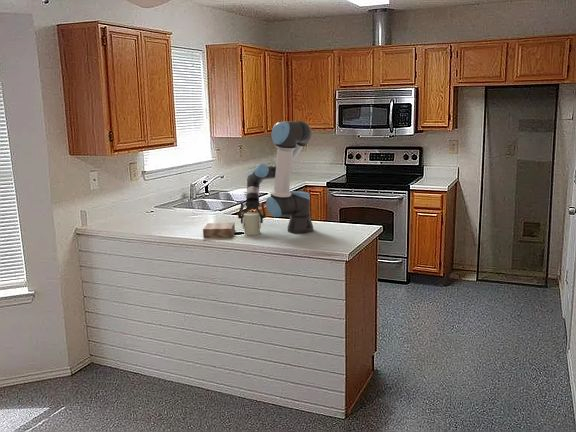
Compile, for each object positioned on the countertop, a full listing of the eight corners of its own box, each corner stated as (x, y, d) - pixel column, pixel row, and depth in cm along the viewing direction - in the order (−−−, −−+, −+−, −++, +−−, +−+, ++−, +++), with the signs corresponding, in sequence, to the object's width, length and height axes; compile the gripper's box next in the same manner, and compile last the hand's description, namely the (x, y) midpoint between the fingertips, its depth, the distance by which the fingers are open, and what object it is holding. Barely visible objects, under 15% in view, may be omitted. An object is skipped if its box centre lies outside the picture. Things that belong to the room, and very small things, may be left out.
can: (251, 230, 333) (251, 210, 330) (263, 232, 327) (262, 212, 325) (241, 233, 326) (240, 213, 323) (252, 235, 320) (251, 215, 318)
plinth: (234, 230, 334) (234, 222, 333) (231, 237, 318) (231, 228, 317) (208, 231, 334) (207, 223, 333) (203, 237, 318) (202, 229, 317)
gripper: (271, 198, 338) (270, 230, 325) (235, 199, 338) (233, 231, 326) (270, 191, 332) (269, 223, 319) (234, 192, 332) (232, 224, 320)
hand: (251, 227), depth 322 cm, fingers closed on can, 9 cm apart
